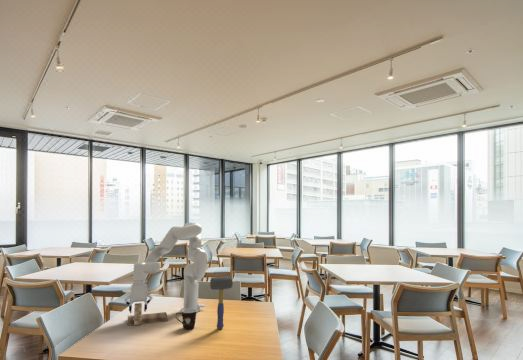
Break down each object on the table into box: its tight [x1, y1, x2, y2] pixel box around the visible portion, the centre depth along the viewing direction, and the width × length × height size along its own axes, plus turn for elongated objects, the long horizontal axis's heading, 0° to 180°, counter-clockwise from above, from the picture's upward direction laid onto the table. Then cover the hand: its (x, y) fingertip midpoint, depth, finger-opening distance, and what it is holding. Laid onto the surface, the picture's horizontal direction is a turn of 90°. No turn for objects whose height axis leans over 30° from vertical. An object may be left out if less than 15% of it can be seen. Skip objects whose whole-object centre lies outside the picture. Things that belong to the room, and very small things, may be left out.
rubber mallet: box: [209, 275, 234, 330], centre depth 193 cm, size 12×8×30 cm, turn 112°
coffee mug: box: [175, 308, 198, 331], centre depth 192 cm, size 12×9×10 cm
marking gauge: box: [133, 302, 143, 326], centre depth 201 cm, size 4×14×10 cm, turn 22°
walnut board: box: [127, 311, 169, 326], centre depth 204 cm, size 23×10×3 cm, turn 112°
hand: (137, 311), depth 202 cm, fingers open, 7 cm apart
